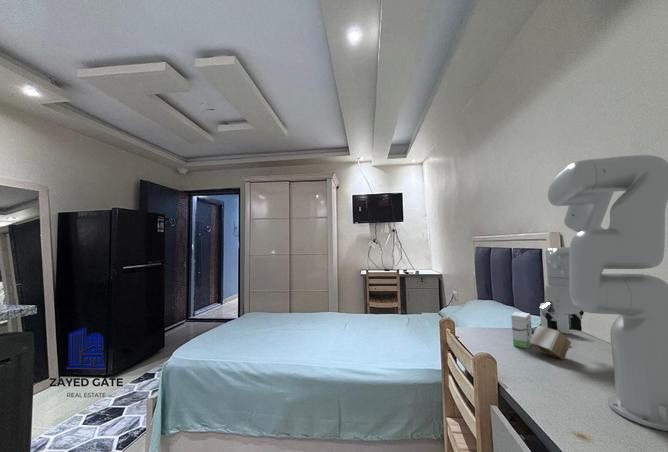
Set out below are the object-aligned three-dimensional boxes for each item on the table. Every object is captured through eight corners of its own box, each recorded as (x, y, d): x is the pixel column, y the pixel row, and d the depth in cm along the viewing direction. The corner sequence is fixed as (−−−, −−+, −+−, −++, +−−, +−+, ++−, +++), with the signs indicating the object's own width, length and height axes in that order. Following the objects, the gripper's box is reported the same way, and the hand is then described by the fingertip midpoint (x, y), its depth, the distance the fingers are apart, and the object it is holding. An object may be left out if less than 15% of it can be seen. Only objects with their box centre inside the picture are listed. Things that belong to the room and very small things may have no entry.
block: (571, 342, 93) (557, 330, 92) (563, 360, 91) (549, 348, 90) (550, 336, 99) (537, 325, 98) (542, 352, 98) (529, 342, 97)
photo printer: (571, 332, 119) (568, 304, 120) (568, 334, 117) (565, 305, 118) (543, 327, 128) (541, 300, 129) (539, 329, 125) (537, 302, 126)
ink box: (528, 349, 101) (525, 317, 102) (512, 345, 105) (510, 314, 106) (532, 343, 107) (530, 313, 108) (518, 340, 111) (516, 311, 112)
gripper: (570, 279, 102) (574, 326, 101) (530, 281, 100) (534, 329, 99) (592, 282, 95) (596, 332, 94) (549, 284, 92) (553, 335, 91)
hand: (564, 330), depth 96 cm, fingers open, 9 cm apart
